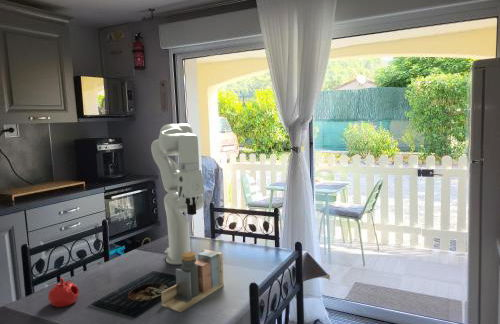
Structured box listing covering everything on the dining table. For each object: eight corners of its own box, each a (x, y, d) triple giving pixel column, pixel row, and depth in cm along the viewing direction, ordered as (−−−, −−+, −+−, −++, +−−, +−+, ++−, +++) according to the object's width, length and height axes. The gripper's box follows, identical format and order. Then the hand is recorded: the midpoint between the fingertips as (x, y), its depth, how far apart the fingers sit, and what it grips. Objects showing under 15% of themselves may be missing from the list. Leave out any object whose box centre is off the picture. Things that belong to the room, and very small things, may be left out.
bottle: (202, 291, 138) (199, 252, 136) (194, 299, 133) (191, 258, 131) (188, 289, 140) (185, 250, 138) (179, 296, 135) (177, 256, 133)
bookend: (173, 298, 134) (172, 270, 133) (178, 295, 136) (177, 268, 135) (187, 302, 130) (185, 274, 129) (191, 299, 132) (190, 271, 131)
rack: (161, 305, 131) (159, 269, 129) (205, 280, 150) (204, 249, 148) (180, 312, 126) (178, 275, 124) (223, 285, 145) (222, 253, 143)
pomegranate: (51, 313, 128) (48, 287, 127) (46, 302, 137) (43, 278, 135) (82, 304, 134) (79, 279, 133) (76, 293, 142) (73, 270, 141)
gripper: (182, 170, 136) (185, 220, 138) (209, 165, 148) (211, 211, 150) (167, 169, 140) (170, 217, 142) (195, 164, 152) (197, 209, 154)
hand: (191, 214), depth 146 cm, fingers closed
